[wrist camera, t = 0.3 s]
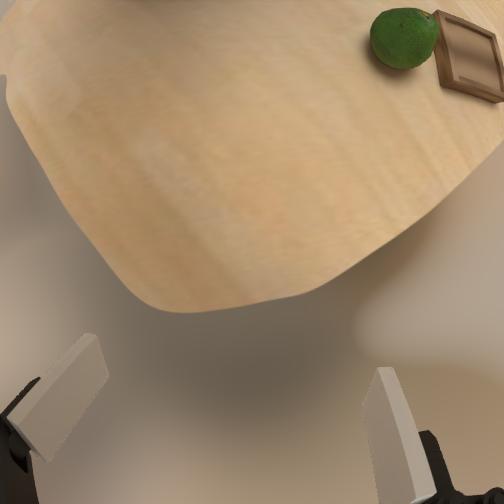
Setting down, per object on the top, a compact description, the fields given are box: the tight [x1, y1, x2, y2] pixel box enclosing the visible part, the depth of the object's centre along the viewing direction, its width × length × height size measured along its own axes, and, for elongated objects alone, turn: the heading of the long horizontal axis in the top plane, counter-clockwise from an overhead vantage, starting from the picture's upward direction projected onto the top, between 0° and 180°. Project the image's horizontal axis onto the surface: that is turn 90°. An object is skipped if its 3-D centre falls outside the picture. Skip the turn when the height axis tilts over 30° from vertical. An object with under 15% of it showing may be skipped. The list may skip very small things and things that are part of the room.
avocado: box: [370, 8, 439, 68], centre depth 22 cm, size 8×8×12 cm
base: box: [432, 10, 504, 103], centre depth 23 cm, size 12×12×4 cm
